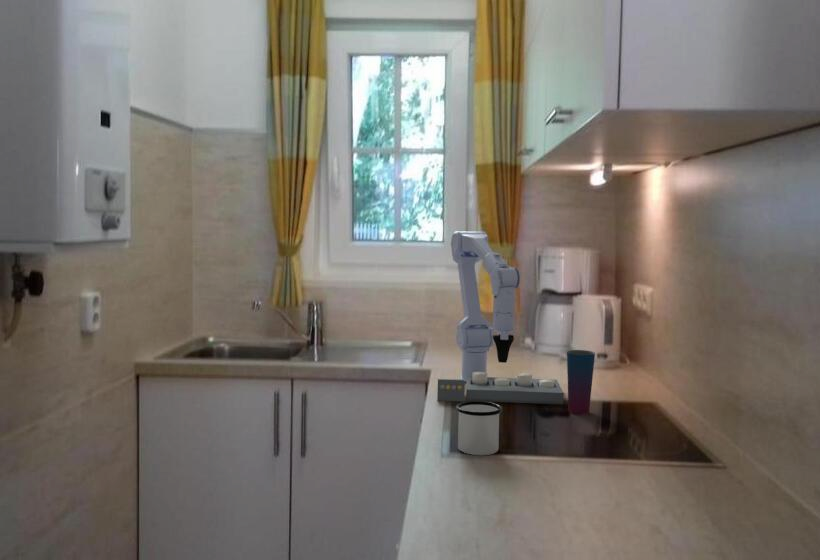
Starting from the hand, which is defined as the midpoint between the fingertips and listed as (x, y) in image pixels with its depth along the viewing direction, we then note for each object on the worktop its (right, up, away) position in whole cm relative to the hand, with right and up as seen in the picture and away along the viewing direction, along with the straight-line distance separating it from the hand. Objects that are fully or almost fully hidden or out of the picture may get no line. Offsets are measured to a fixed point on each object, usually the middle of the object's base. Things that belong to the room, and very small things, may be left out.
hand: (502, 362), depth 203 cm
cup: (+17, -11, -16) cm, 26 cm away
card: (-14, -9, -7) cm, 19 cm away
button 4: (+12, -8, 0) cm, 15 cm away
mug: (-11, -13, -47) cm, 50 cm away
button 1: (-6, -7, +1) cm, 9 cm away
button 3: (+6, -7, 0) cm, 9 cm away
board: (+3, -9, 0) cm, 9 cm away
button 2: (0, -8, +1) cm, 8 cm away
